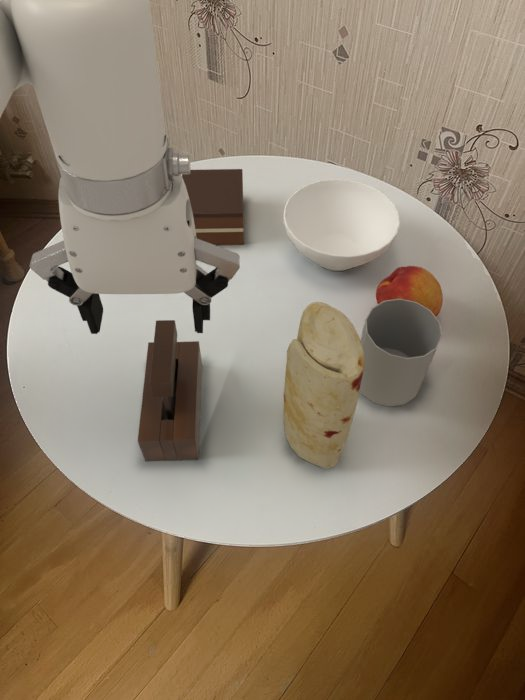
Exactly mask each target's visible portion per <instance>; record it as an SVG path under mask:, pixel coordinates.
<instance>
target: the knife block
mask: <svg viewBox="0 0 525 700" xmlns="http://www.w3.org/2000/svg"><path fill="white" fill-rule="evenodd" d="M153 346H154V341H152V342H151V341H150V342H147V352H146V359H145V360H146V362H145V370H144V378H143V389H142V398H141V399H142V400H141V405H140V406H141V407H140V414H139V415H140V416H139V426H138V433H137V444H138V446H139V448H140V452H141V454H142V456H143V460H144V461H145V462H165V461H170V462H171V461H199V460H200V438H201V437H200V436H201V435H200V434H201V411H202V410H201V409H202V386H203V385H202V383H203V361H202V353H201V347H200V346H201V345H200V341H197V340H196V341H195V340H194V341H177V347H176V366H177V371H178V373H177V387H176V402H175V416H174V420H168V418H167V415H166V411H165V407H164V403H163V399H162V397H153V394H152V390H151V387H150V375H151V365H152V355H153Z"/></svg>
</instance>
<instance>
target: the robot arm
mask: <svg viewBox="0 0 525 700" xmlns="http://www.w3.org/2000/svg"><path fill="white" fill-rule="evenodd" d="M157 55H158V54H157V48H156V40H155V32H154V22H153V15H152V9H151V3H150V0H0V118H2V116H3V114H4V112H5V109H6V107H7V106H8V103H9V101H10V99H11V98H12V95H13V94H14V92H15V91H16V90H18V89H19V88H21V87H22V86H24V85H30V86H32V87H33V89H34V93H35V96H36V99H37V104H38V106H39V109H40V112H41V115H42V118H43V122H44V125H45V127H46V130H47V133H48V137H49V141H50V143H51V147H52V150H53V153H54V157H55V160H56V163H57V167H58V169H59V173H60V178H59V185H58V209H59V210H58V211H59V219H60V226H61V227H60V228H61V232H62V238H63V240H62V241H59V242H57V243H54V244H52V245H49V246H48V247H46V248H43V249H40V250H38V251H36V252H34V253H33V254H32V256H31V259H30V262H29V269H31V271H33V272H34V273H35V274H36V275H37V276H39V277H40V278H41V279H42V280H43V281H44V280H45V281H46V282H47V286H48V287H49V288H50V289H52V290H54V291H55V292H57V293H60V294H62V295H64V296H65V297H68V302H69V303H70V304H71V305H73V306H76V307H77V309H78V312H79V315H80V317H81V320H82V322H87V326H88V329H89V332H90V334H91V335H97V334H99V333H100V331H101V326H102V320H103V316H104V307H103V303H102V299H101V297H100V295H171V294H172V295H173V294H174V295H175V294H181V293H183V294H185V295H187V296H188V297H189V298H191V299H192V304H191V305H192V306H191V307H192V316H193V326H194V327H193V328H194V332H195V333H196V334H203V333H204V321H211V303H212V298H214V297H215V296H216V295H218V294H219V293H221V292H222V291H224V290H225V289H227V288H228V287H229V283H230V281H231V280H232V279H233V278H234V276H236V274H237V273H238V271H239V270H240V267H241V264H240V262H241V260H240V259H241V258H240V255H239V254H238V253H237V252H235V251H232V250H230V249H227V248H224V247H222V246H220V245H213V244H211V243H208V242H205V241H203V240H200V239H197V237H196V230H195V224H194V218H193V213H192V208H191V204H190V199H189V196H188V192H187V189H186V186H185V183H184V180H183V178H182V174H190V170H191V156H190V154H180V152H174V149H173V147H170V140H169V137H167V130H166V129H167V128H166V121H165V114H164V105H163V98H162V89H161V81H160V73H159V64H158V57H157ZM197 262H200V263H203V264H205V265H209V266H211V267H215V268H214V269H212V270H211V271H209V272H207V271H206V270H204V268H202V267H200V266H199V265H198V264H197ZM65 263H68V265H69V268H70V271H69V270H68V269H66V268H64V267H63V266H61V265H63V264H65Z"/></svg>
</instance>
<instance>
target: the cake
mask: <svg viewBox="0 0 525 700" xmlns="http://www.w3.org/2000/svg"><path fill="white" fill-rule="evenodd" d="M243 174H244V173H243V169H242V168H219V169H218V168H216V169H213V168H211V169H210V168H209V169H190V174H181V175H182V178H183V180H184V183H185V186H186V189H187V192H188V196H189V199H190V204H191V208H192V213H193V218H194V224H195V230H196V237H197V239H200V240H203V241H205V242H208V243H211V244H213V245H216V246H233V245H235V246H236V245H237V246H238V245H239V246H240V245H241V246H242V245H245V236H244V235H245V228H244V227H245V222H244V216H245V215H244V178H243V177H244V176H243Z"/></svg>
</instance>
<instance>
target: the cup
mask: <svg viewBox="0 0 525 700" xmlns="http://www.w3.org/2000/svg"><path fill="white" fill-rule="evenodd" d="M442 331H443V330H442V327H441V321H439V319H438V318H437V316H436V317H435V315H434V314H433V313H432V312H431V310H429V309H427V308H426V307H424V306H422V305H421V304H419V303H417V302H414V301H409V300H404V299H394V300H386V301H383V302H381V303H380V304H378V303H377V304H376V305H375V306H373V307H372V308H371V309H370V310H369V312H368V314H367V316H366V318H365V320H364V325H363V328H362V332H361V335H360V341H361V344H362V348H363V352H364V372H363V376H362V380H361V385H360V391H359V394H361V395H362V396H363V397H365V398H366V399H367V400H369V401H370V402H372V403H373V404H377V405H381V406H385V407H388V408H391V407H397V406H404V405H406V404H407V403H409V402H411V401H412V400H414V398H416V397H417V396H418V393H419V392H420V391H419V390H420V389H421V386H422V384H423V381H424V379H425V377H426V375H427V372H428V370H429V368H430V365H431V364H432V361H433V358H434V357H435V355H436V352H437V350H438V347H439V345H440V342H441V341H442V338H443V332H442Z"/></svg>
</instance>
